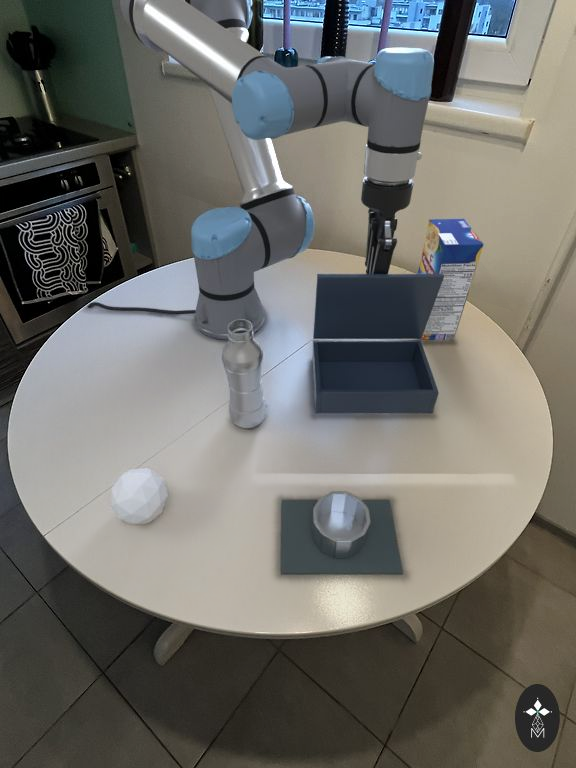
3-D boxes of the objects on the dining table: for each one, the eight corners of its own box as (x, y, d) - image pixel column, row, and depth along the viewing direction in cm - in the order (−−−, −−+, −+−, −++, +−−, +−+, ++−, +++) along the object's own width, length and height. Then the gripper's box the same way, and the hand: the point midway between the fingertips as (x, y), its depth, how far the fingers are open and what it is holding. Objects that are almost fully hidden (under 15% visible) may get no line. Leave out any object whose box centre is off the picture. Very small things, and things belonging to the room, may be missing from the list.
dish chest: (431, 416, 80) (439, 392, 76) (315, 416, 80) (316, 392, 76) (414, 362, 90) (420, 339, 86) (311, 362, 90) (313, 339, 87)
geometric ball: (135, 519, 68) (99, 482, 65) (178, 486, 69) (145, 448, 66) (133, 547, 61) (93, 506, 58) (181, 510, 62) (144, 468, 59)
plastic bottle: (272, 410, 81) (269, 317, 67) (258, 437, 76) (251, 344, 63) (239, 401, 82) (229, 309, 69) (223, 428, 78) (209, 335, 64)
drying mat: (280, 574, 59) (280, 572, 59) (281, 501, 67) (281, 499, 67) (402, 574, 59) (403, 572, 59) (389, 501, 67) (389, 499, 67)
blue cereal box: (420, 343, 95) (445, 245, 80) (408, 313, 103) (429, 219, 88) (453, 342, 95) (483, 244, 80) (438, 313, 103) (464, 218, 88)
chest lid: (444, 277, 73) (443, 273, 74) (317, 277, 73) (317, 273, 74) (421, 339, 86) (420, 335, 86) (313, 339, 86) (313, 335, 86)
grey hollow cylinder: (313, 560, 60) (314, 541, 57) (311, 510, 66) (312, 491, 62) (368, 560, 60) (373, 541, 57) (362, 510, 66) (366, 491, 62)
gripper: (423, 193, 63) (396, 330, 79) (405, 162, 72) (384, 290, 89) (369, 193, 63) (353, 330, 79) (358, 163, 72) (346, 291, 89)
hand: (369, 309), depth 84 cm, fingers closed
